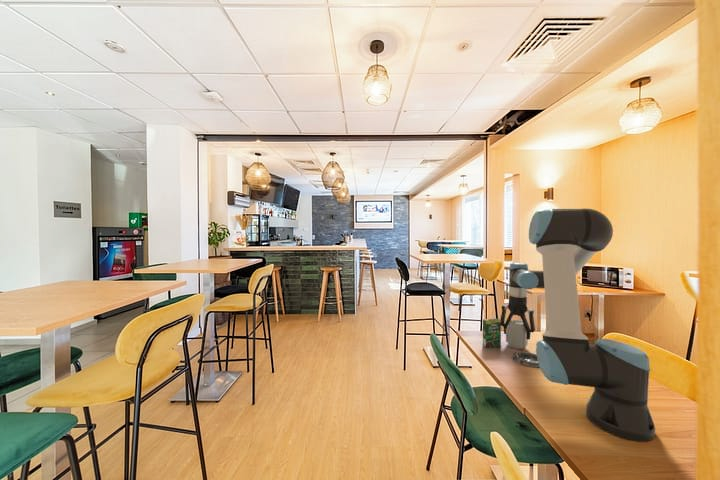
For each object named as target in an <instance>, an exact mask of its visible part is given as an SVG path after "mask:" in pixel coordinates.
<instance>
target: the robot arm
mask: <svg viewBox="0 0 720 480" xmlns="http://www.w3.org/2000/svg"><path fill="white" fill-rule="evenodd" d="M613 232H614V229H613V225H612V222H611V220H609V218H608V217H607V216H606V215H605V214H604V213H602V212H600V211H598V210H596V209H592V208H552V207H551V208H546V209H543V208H542V209H539V210H536V211H535V213H534V214H533V216H532V217H531V220H530V224H529V228H528V240H529V241H528V242H529V243H530V244H532V245H535V247H536V248H535V249H536V252H537V253H539V254H540V255H541V258H542V260H541V261H542V270H530V269H529V266H528V265H529V264H527V263H526V262H525V263H523V262H511V263H510V264H509V271H508V272H509V276H508V277H509V280H508V281H509V284H508V285H509V286H508V294H509V295H508V305H505V304H504V305H501V316H500V320H501V327H503V334H504V335H505V342H506V343H508V324H509V323H510V321H511V320H513V319H512V318H513V316H518V317H520V319H521V320H522V322H523V324H524V326H525V329H526V332H525V338H524V346H525V347H527V346H528V343H529V342H528V340H530V339H531V333H534V332H535V331H536V327H535V325H536V324H535V318H534V313H535V310H534V309H529V308H528V306H527V305H528V297H527V296H528V290H533V289H544V297H545V298H544V299H545V310H546V313H545V314H546V325H547V330H545V332H543V334H542V335H541V336H542V339H540V340H537V342H536V346H535V347H536V348H535V352H536V353H535V354H537V359H538V363H539V366H540V368H539V369H540V370H541V373H542V374H543V376H544V377H545V378H546V379H547V380H548V381H550V382H551V383H557V384H562V385H564V386H567V385H573V386H578V387H579V386H581V387H589V388H593V391H592V393H591V396H590V398H589V399H588V401H587V404H586V407H585V411H586V412H585V415H586V417H587V419H588V420H589V421H590V422H591V423H592V424H594V426H596V427H598V429H599V428H600V429H601V430H603V431H604V432H607V433H608V434H610V435H614V436H616V437H619V438H621V439H626V440H629V441H633V442H650V441H652V440H654V439H655V438H656V427H655V423H654V421H653V417H652V414H651V412H650V409H649V405H648V401H649V400H648V398H649V384H650V383H649V382H650V381H649V379H650V372H651V367H650V358H649V356H648V354H647V353H646V352H644V351H643V350H641V349H639V348H638V347H635V346H634V345H630V344H628V343H625V342H621V341H617V340H614V339H608V338H598V339H596V341H595V342H594V343H595V344H590V341H589V338H588V337H587V336H586V335H585V334H584V333H583V332H582V326H581V325H582V324H581V315H580V306H579V296H578V295H579V294H578V285H577V274H579V273H578V272H580V271H581V270H582V269H583V268H584V266H585V265H586V264H587V263H588V262H589V261H590V260H591V259H592V258H593V256H594V255H595V254H596V253H598V252H601V251H603V250H604V249H605V248H606V247H607V246H608V245H609V243H610V242H611V240H612V238H613V235H614V234H613ZM507 310H509V315H508V317H507V319H506V315H507ZM526 313H527V314H528V318H529V322H528V320H527V318H526V317H527V316H526ZM505 319H506V321H505ZM525 347H524V348H525Z"/></svg>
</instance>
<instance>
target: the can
mask: <svg viewBox="0 0 720 480" xmlns="http://www.w3.org/2000/svg"><path fill="white" fill-rule="evenodd" d="M507 327H508V342H507V345H508V346H509V347H510V348H512V349H515V350H523V349H525V346H524V338H525V332H526V329H525V326H524V324H523V321H521V320H516V319H515V320H514V319H511V321H510V323H509V324H508V326H507Z"/></svg>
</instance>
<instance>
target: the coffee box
mask: <svg viewBox="0 0 720 480" xmlns="http://www.w3.org/2000/svg"><path fill="white" fill-rule="evenodd" d="M501 329H502V326H501V318H500V319H499V318H488V319H487V318H486V319H482V346H483V347H484V348H485V349H487V348H488V349H489V348H491V349H492V348H501V347H502V343H501V342H502V330H501Z"/></svg>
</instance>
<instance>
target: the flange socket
mask: <svg viewBox="0 0 720 480" xmlns="http://www.w3.org/2000/svg"><path fill="white" fill-rule="evenodd" d="M511 359H512V360H513V362H515V363H517V364H519V365H521V366H524V367H528V368H533V369H534V368H535V369H541V368H540V366H539V363H538V359H537V354H536V353H534V352H529V351H517V352H514V353H513V354H511Z"/></svg>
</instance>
